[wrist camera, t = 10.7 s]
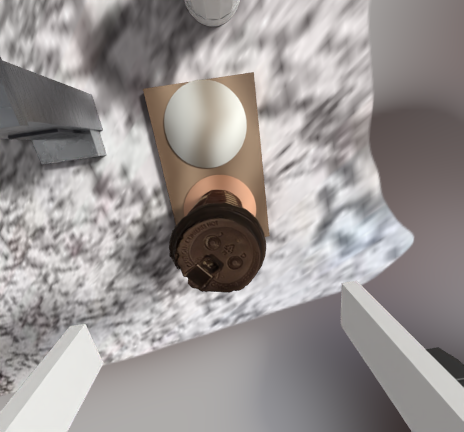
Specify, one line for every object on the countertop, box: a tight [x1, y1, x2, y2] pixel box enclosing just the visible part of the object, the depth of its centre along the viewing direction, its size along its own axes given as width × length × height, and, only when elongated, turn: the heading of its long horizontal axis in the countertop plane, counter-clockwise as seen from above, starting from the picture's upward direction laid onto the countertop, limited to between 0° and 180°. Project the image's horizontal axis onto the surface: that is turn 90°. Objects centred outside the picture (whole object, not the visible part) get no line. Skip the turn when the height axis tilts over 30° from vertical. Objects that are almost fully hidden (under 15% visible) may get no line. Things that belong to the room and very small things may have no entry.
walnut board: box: [143, 72, 269, 237], centre depth 29 cm, size 13×21×2 cm, turn 8°
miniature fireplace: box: [0, 57, 106, 164], centre depth 21 cm, size 9×8×13 cm
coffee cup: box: [169, 189, 266, 292], centre depth 24 cm, size 9×8×13 cm
